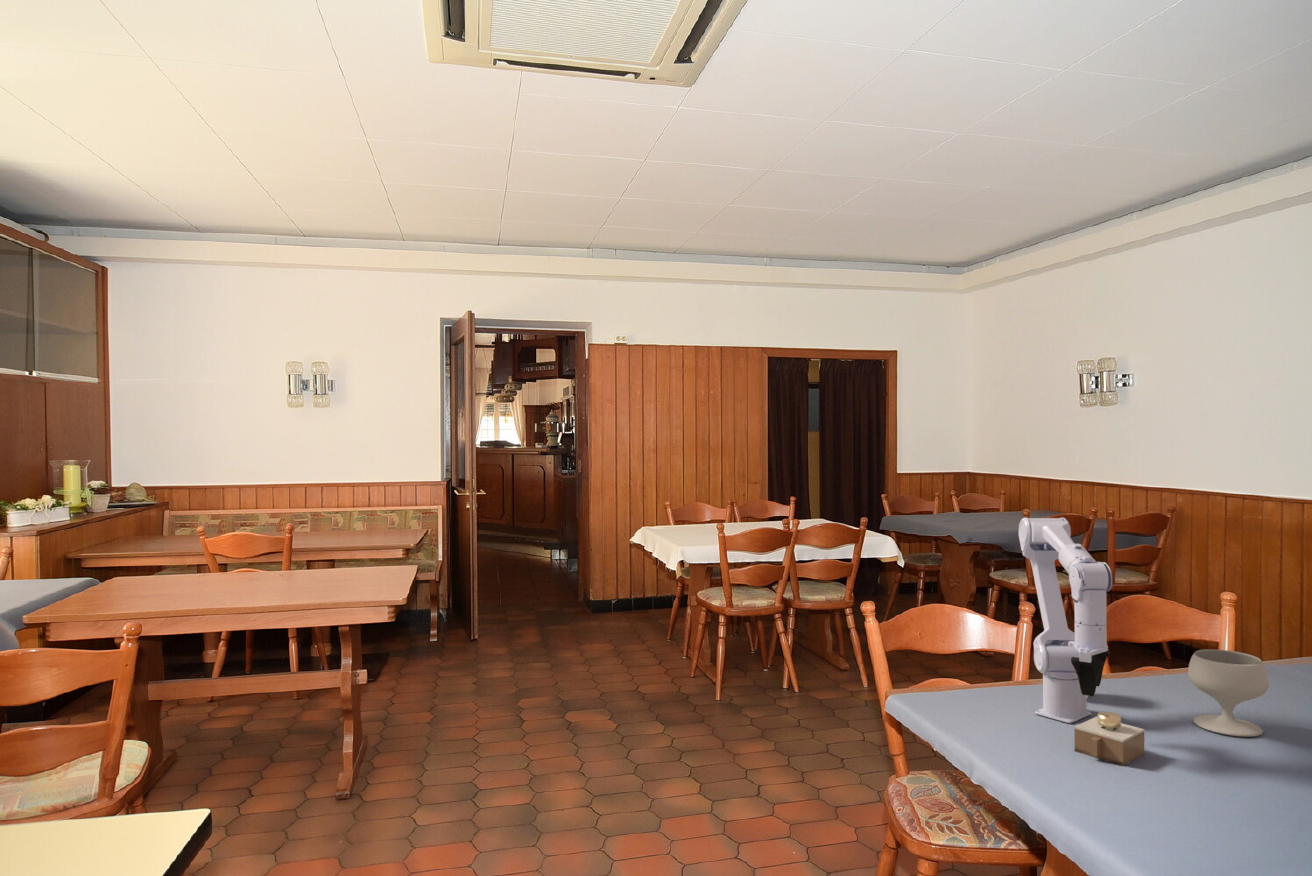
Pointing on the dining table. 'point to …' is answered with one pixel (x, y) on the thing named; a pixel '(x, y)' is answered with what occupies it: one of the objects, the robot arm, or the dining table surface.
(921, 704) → the dining table surface
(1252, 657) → the chalice
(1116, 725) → the plunger
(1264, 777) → the dining table surface
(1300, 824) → the dining table surface
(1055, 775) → the dining table surface
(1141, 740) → the tan box
